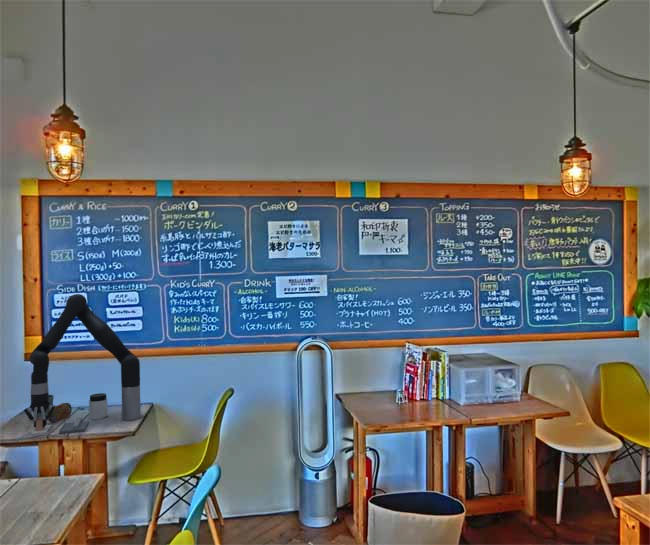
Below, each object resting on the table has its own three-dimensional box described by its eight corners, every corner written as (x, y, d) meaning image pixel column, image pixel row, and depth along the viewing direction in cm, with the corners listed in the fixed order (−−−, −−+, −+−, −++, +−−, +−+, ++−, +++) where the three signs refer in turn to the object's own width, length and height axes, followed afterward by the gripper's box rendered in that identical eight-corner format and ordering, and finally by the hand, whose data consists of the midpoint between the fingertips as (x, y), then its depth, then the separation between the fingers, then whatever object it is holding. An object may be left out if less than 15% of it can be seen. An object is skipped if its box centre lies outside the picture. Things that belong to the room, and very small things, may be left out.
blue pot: (55, 415, 268) (55, 393, 268) (51, 420, 258) (51, 398, 258) (34, 417, 265) (34, 395, 265) (29, 422, 255) (29, 399, 255)
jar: (99, 419, 258) (99, 397, 258) (86, 419, 259) (85, 396, 259) (110, 415, 266) (110, 393, 267) (97, 414, 268) (96, 392, 268)
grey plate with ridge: (88, 423, 252) (88, 416, 252) (84, 432, 238) (84, 424, 238) (64, 425, 248) (64, 419, 248) (59, 434, 234) (59, 427, 234)
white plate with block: (53, 427, 245) (53, 414, 245) (48, 434, 234) (48, 421, 234) (37, 429, 243) (37, 416, 243) (31, 436, 232) (31, 422, 232)
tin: (51, 424, 251) (51, 408, 251) (46, 424, 252) (46, 408, 252) (72, 416, 266) (72, 400, 266) (67, 416, 266) (67, 400, 266)
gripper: (57, 389, 244) (57, 423, 244) (25, 391, 239) (26, 426, 239) (54, 392, 237) (54, 428, 237) (21, 395, 232) (21, 431, 232)
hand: (40, 427), depth 238 cm, fingers closed on white plate with block, 2 cm apart
